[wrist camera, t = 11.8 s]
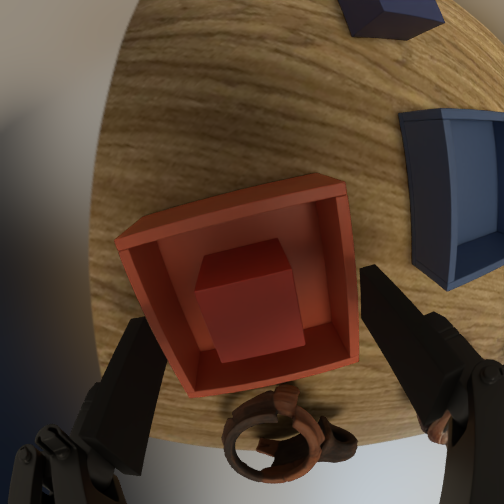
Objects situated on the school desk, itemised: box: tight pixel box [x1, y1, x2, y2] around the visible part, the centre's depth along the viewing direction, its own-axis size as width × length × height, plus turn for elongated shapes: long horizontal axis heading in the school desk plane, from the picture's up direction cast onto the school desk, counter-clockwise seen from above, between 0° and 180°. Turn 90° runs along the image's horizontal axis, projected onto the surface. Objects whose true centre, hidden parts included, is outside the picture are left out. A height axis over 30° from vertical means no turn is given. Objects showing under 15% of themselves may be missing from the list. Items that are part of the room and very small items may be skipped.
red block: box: [194, 238, 306, 363], centre depth 15 cm, size 4×4×4 cm
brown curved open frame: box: [222, 384, 358, 483], centre depth 21 cm, size 12×10×8 cm
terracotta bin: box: [114, 173, 359, 398], centre depth 16 cm, size 11×11×4 cm
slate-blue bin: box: [398, 108, 504, 291], centre depth 14 cm, size 11×11×4 cm
